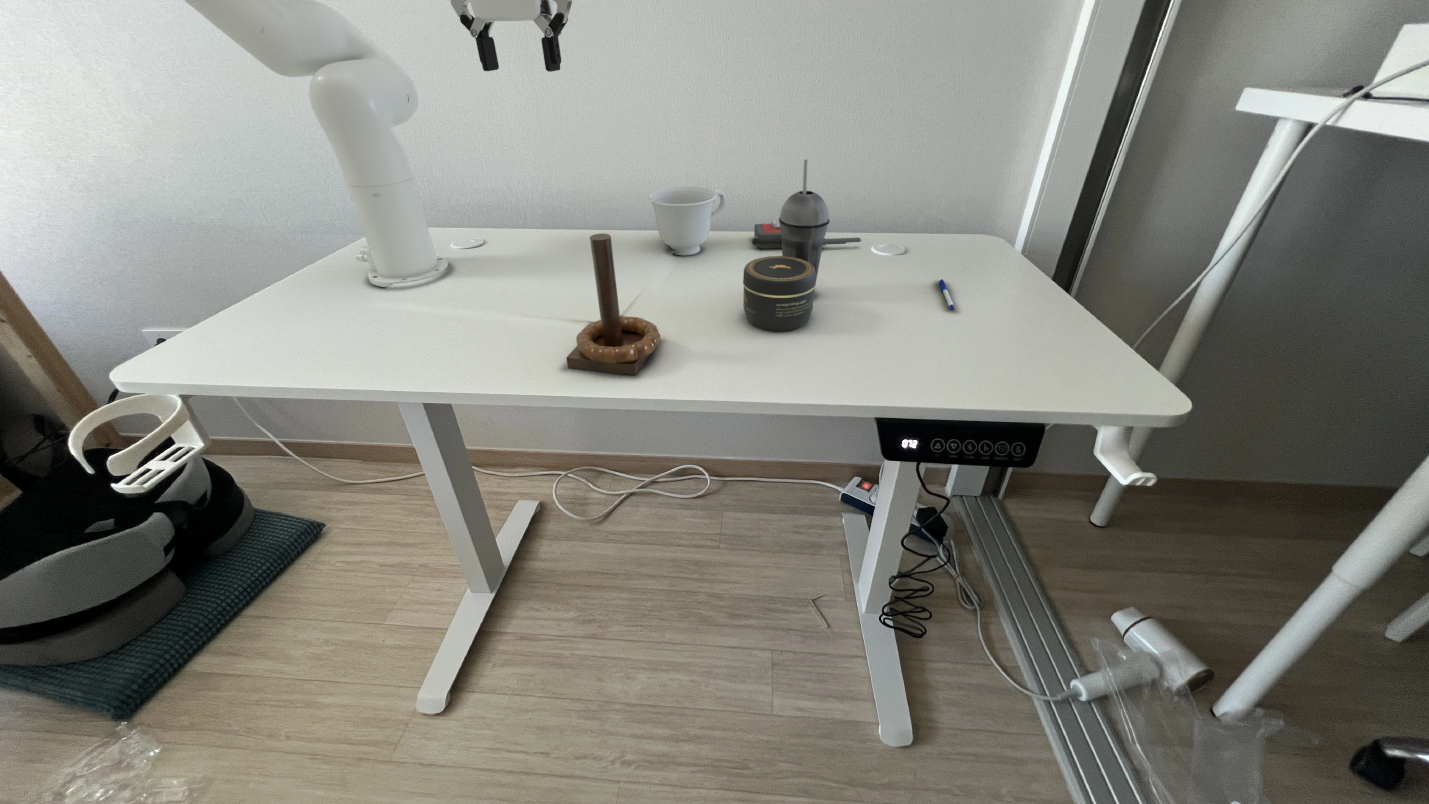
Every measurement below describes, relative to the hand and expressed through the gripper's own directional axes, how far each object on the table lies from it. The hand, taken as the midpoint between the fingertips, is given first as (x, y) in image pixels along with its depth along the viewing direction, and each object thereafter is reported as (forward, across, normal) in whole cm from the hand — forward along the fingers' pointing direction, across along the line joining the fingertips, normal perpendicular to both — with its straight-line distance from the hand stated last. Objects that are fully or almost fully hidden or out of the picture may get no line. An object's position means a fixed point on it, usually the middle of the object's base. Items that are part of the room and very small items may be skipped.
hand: (522, 70), depth 83 cm
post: (+30, -20, +24) cm, 44 cm away
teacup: (+31, -19, -17) cm, 40 cm away
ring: (+28, -21, +24) cm, 42 cm away
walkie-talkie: (+31, -39, -24) cm, 55 cm away
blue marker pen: (+31, -63, -4) cm, 70 cm away
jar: (+31, -39, +9) cm, 50 cm away
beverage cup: (+31, -41, 0) cm, 51 cm away
